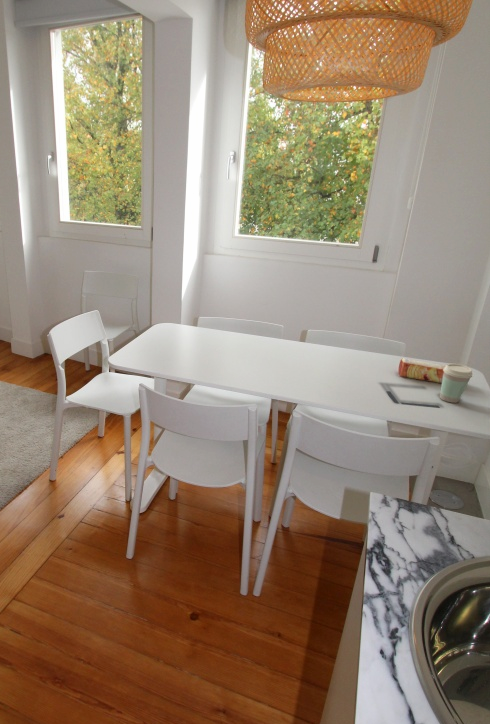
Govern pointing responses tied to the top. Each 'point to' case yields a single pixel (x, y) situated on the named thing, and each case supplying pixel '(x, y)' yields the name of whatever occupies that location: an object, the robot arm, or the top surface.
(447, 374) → the coffee cup
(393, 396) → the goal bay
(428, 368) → the snack package
